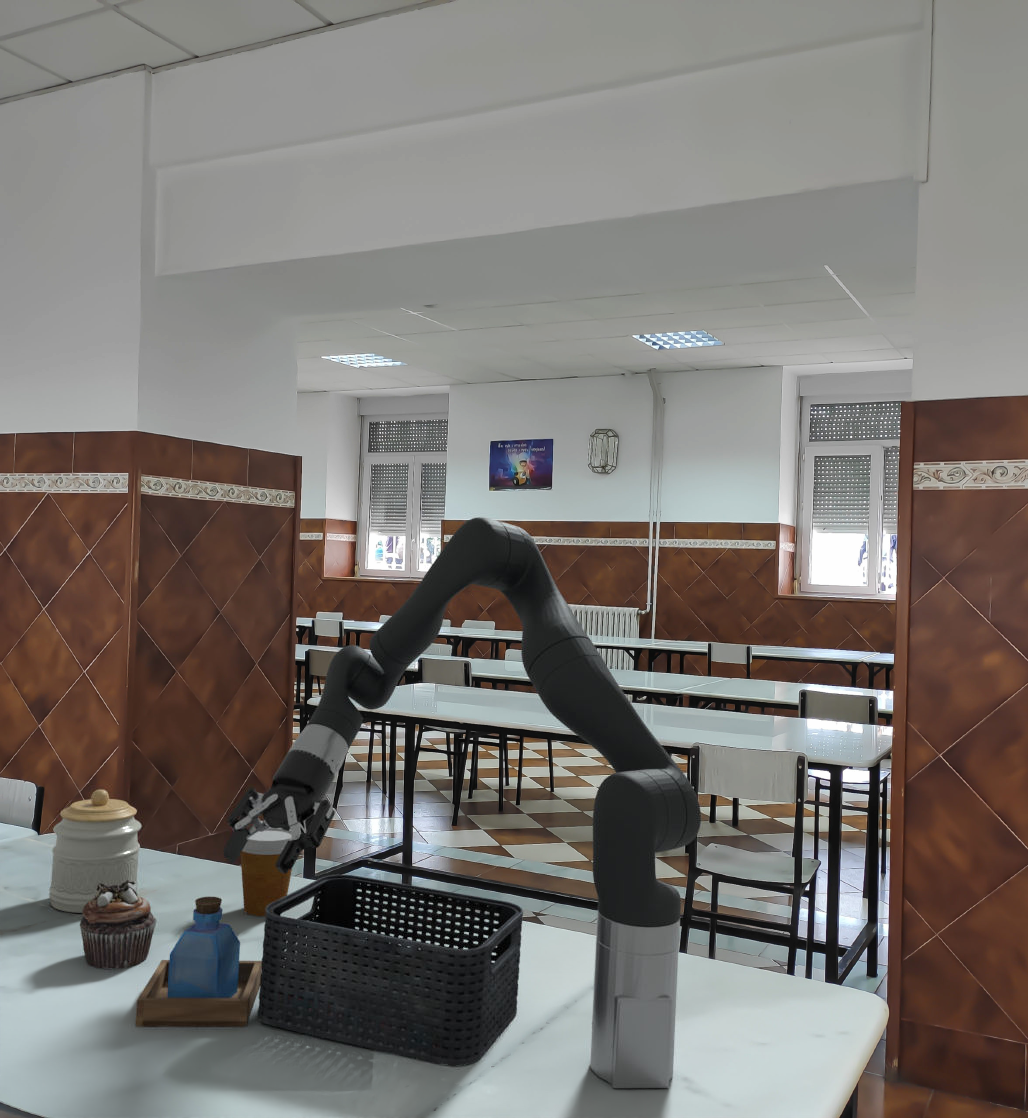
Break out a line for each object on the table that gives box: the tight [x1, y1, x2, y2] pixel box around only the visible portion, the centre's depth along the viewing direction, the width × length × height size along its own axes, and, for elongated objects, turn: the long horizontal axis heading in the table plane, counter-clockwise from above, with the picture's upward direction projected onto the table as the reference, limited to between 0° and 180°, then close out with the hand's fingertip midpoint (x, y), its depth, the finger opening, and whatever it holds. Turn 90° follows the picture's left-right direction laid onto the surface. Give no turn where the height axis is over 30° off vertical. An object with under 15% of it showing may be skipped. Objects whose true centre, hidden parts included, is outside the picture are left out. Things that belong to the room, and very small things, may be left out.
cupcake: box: [79, 880, 158, 970], centre depth 138 cm, size 10×10×10 cm
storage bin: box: [257, 874, 524, 1067], centre depth 124 cm, size 29×19×13 cm
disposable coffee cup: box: [240, 827, 293, 917], centre depth 160 cm, size 10×10×12 cm
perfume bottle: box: [167, 896, 241, 998], centre depth 124 cm, size 6×6×12 cm
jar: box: [48, 788, 142, 914], centre depth 160 cm, size 13×13×18 cm
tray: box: [134, 959, 262, 1028], centre depth 124 cm, size 13×13×3 cm
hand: (254, 864), depth 132 cm, fingers open, 8 cm apart
